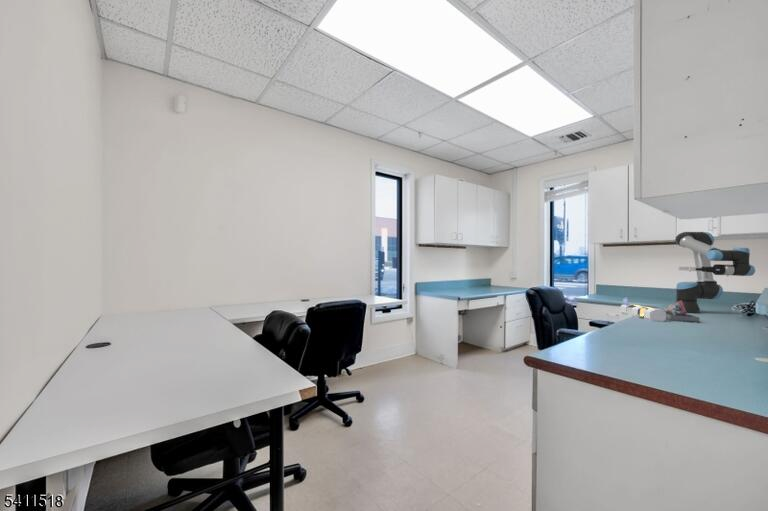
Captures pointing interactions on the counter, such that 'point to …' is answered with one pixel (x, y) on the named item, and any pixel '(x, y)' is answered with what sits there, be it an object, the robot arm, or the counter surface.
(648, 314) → the segmented white rod
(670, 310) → the brake caliper
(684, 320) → the parts bin
